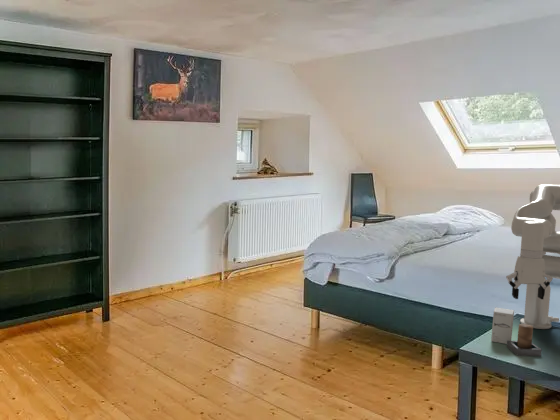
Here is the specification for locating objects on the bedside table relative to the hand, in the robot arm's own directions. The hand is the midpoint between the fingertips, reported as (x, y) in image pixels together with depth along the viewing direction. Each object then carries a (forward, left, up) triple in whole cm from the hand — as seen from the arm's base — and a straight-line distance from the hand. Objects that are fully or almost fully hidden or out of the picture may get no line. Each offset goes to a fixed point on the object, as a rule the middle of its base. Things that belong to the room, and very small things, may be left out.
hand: (527, 298), depth 202 cm
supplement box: (+4, -11, -21) cm, 24 cm away
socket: (0, 0, -21) cm, 21 cm away
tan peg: (0, 0, -21) cm, 21 cm away
